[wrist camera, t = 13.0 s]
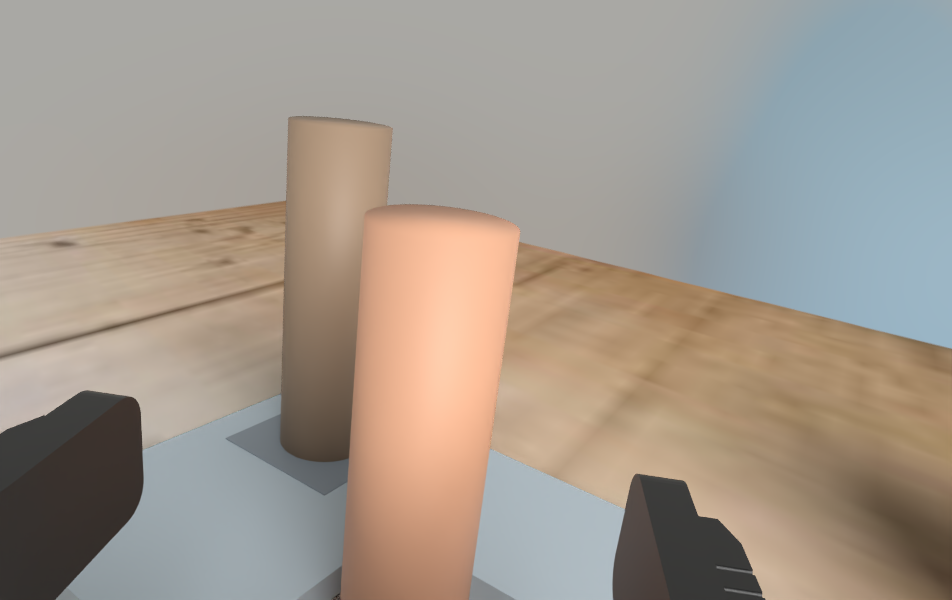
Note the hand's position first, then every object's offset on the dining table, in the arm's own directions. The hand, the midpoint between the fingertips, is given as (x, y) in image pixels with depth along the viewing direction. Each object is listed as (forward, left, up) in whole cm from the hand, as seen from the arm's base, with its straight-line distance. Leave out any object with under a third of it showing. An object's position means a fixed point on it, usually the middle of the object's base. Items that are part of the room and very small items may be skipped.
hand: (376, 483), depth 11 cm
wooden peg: (-2, +5, -9) cm, 10 cm away
